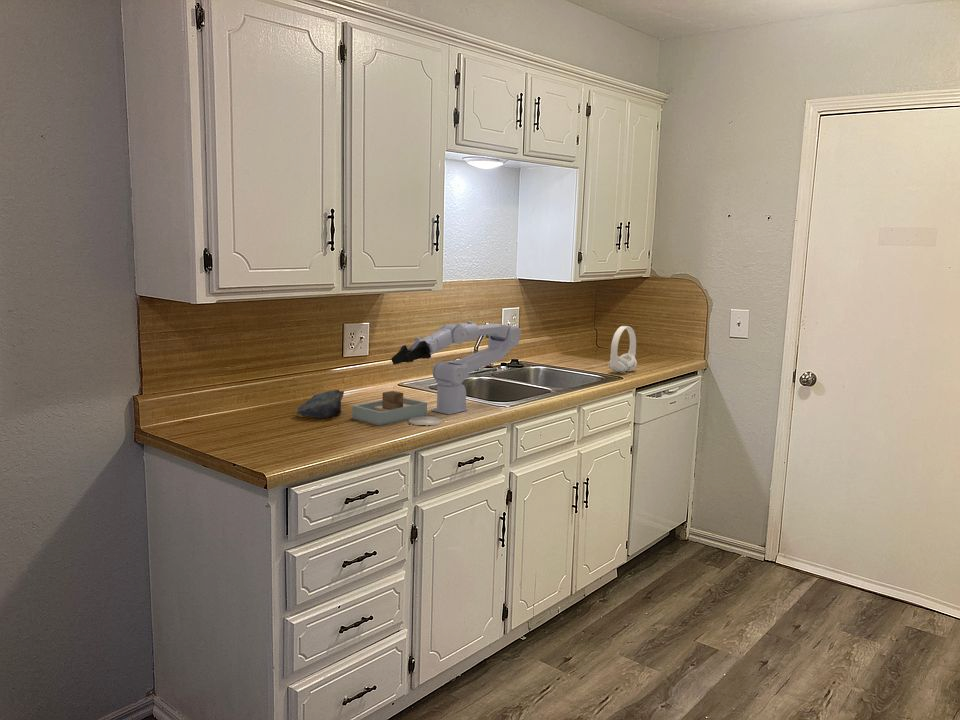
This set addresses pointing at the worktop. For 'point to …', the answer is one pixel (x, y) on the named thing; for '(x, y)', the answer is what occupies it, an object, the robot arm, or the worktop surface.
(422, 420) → the coaster
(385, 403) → the block
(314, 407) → the rock
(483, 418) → the worktop surface
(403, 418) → the caddy
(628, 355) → the headphones
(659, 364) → the worktop surface
